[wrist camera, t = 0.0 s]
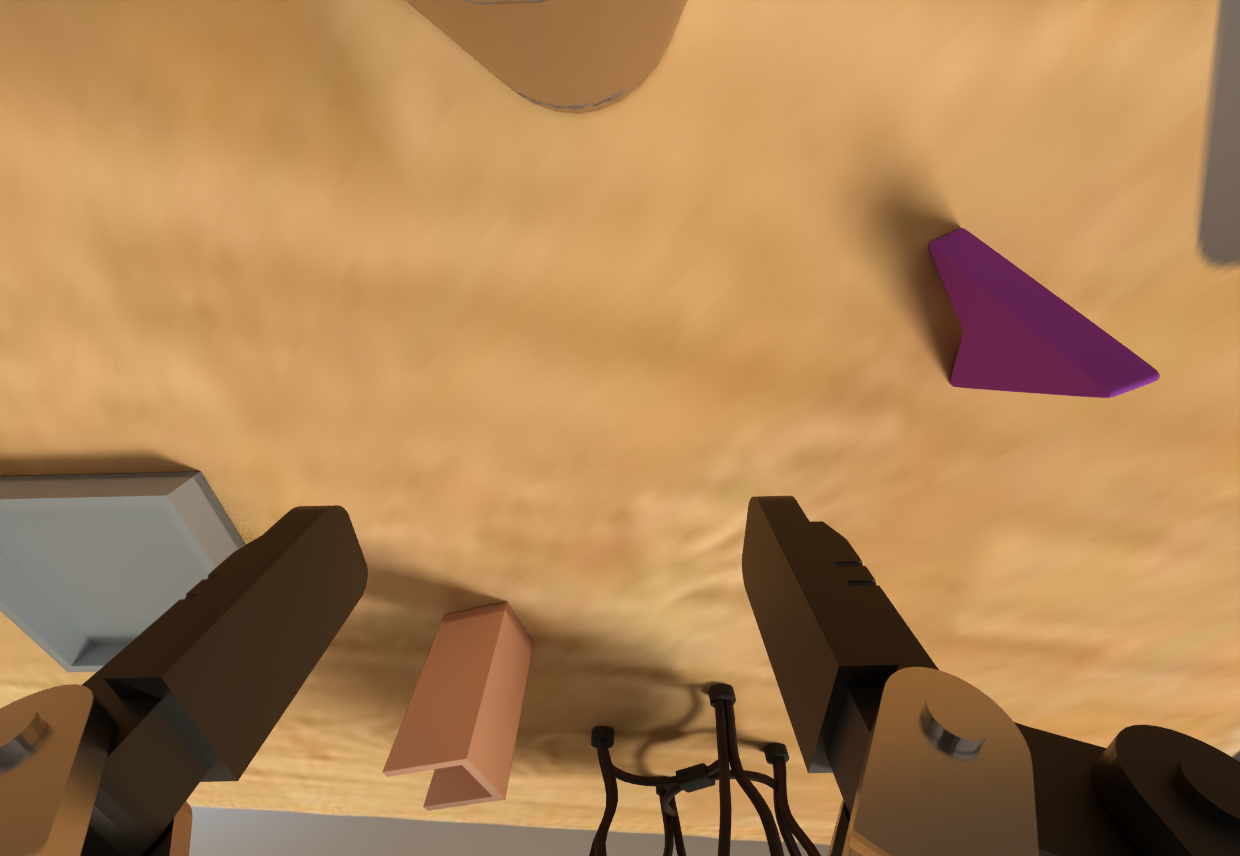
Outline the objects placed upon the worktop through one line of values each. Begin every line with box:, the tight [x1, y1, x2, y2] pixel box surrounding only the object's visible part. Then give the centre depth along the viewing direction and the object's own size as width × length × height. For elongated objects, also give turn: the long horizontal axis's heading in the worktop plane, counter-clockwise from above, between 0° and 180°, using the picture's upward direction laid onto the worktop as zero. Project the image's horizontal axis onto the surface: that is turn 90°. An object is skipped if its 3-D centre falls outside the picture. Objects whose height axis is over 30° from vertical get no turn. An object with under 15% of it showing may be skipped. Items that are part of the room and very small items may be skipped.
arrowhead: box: [929, 228, 1160, 398], centre depth 22 cm, size 10×2×10 cm
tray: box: [0, 472, 245, 672], centre depth 32 cm, size 18×18×2 cm
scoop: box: [383, 602, 533, 810], centre depth 32 cm, size 6×6×11 cm
